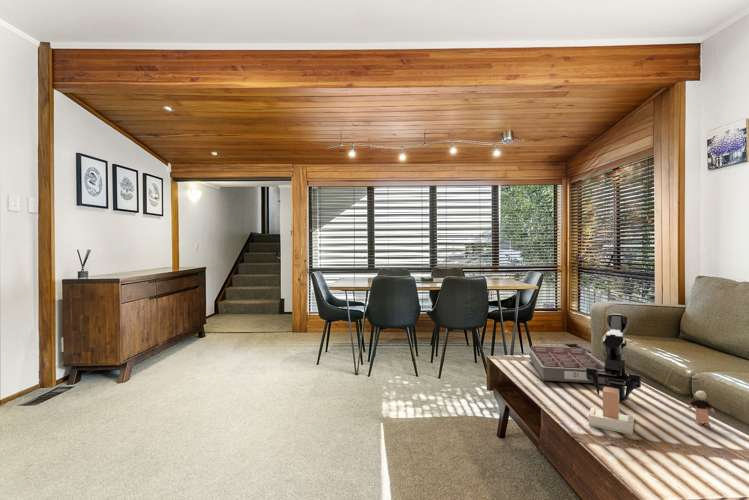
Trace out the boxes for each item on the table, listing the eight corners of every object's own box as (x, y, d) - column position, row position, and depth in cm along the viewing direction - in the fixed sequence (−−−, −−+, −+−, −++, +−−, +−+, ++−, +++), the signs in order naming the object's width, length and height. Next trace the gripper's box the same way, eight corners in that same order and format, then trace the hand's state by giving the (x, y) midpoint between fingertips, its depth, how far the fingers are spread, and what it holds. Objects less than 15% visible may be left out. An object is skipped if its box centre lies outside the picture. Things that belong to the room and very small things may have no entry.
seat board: (593, 411, 163) (593, 401, 163) (633, 419, 155) (633, 409, 155) (588, 425, 149) (588, 414, 149) (632, 435, 141) (632, 424, 141)
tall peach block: (604, 417, 154) (604, 386, 154) (619, 420, 152) (619, 389, 152) (602, 422, 149) (602, 391, 150) (618, 425, 147) (618, 393, 147)
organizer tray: (542, 383, 198) (542, 363, 198) (528, 361, 237) (528, 345, 237) (612, 387, 191) (612, 367, 191) (586, 364, 230) (586, 347, 230)
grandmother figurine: (710, 423, 151) (710, 390, 151) (715, 427, 147) (715, 393, 147) (686, 420, 153) (686, 388, 153) (691, 424, 150) (690, 391, 150)
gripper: (586, 347, 163) (582, 382, 154) (640, 354, 153) (640, 391, 144) (588, 362, 170) (585, 395, 161) (640, 369, 159) (640, 405, 150)
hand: (611, 396), depth 154 cm, fingers open, 9 cm apart
